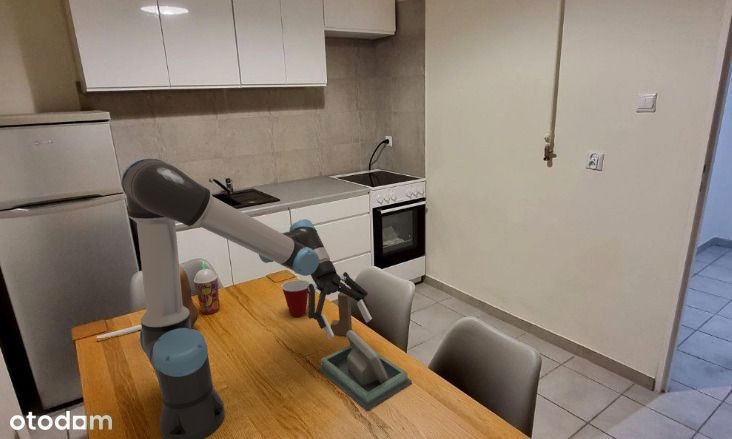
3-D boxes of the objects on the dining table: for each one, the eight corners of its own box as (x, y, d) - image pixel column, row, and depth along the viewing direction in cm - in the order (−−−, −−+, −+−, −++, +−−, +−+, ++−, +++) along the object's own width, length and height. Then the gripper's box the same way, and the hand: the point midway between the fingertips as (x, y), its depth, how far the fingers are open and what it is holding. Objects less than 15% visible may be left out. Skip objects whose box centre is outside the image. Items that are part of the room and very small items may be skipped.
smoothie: (199, 307, 166) (191, 260, 160) (222, 304, 168) (215, 256, 162) (198, 318, 158) (190, 268, 152) (222, 313, 160) (214, 264, 154)
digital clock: (391, 386, 115) (390, 352, 112) (359, 394, 113) (357, 360, 110) (372, 353, 130) (370, 323, 127) (343, 360, 128) (341, 328, 125)
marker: (155, 325, 155) (154, 319, 154) (155, 327, 153) (154, 321, 152) (98, 340, 146) (96, 334, 146) (97, 343, 144) (96, 337, 144)
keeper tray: (367, 411, 108) (366, 399, 107) (317, 369, 125) (317, 359, 124) (411, 383, 118) (411, 372, 117) (360, 348, 135) (359, 338, 134)
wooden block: (352, 331, 145) (350, 291, 141) (349, 336, 142) (347, 295, 138) (334, 329, 147) (331, 289, 142) (330, 334, 144) (328, 294, 139)
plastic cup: (315, 306, 163) (313, 277, 160) (309, 320, 153) (306, 290, 149) (288, 306, 164) (285, 277, 161) (280, 320, 154) (276, 290, 150)
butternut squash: (158, 331, 150) (145, 265, 143) (198, 320, 156) (188, 257, 149) (160, 350, 138) (146, 280, 131) (203, 338, 144) (192, 270, 137)
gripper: (348, 260, 140) (378, 318, 133) (279, 282, 125) (309, 348, 118) (357, 250, 135) (389, 310, 128) (287, 271, 120) (318, 340, 113)
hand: (350, 328), depth 123 cm, fingers open, 13 cm apart
